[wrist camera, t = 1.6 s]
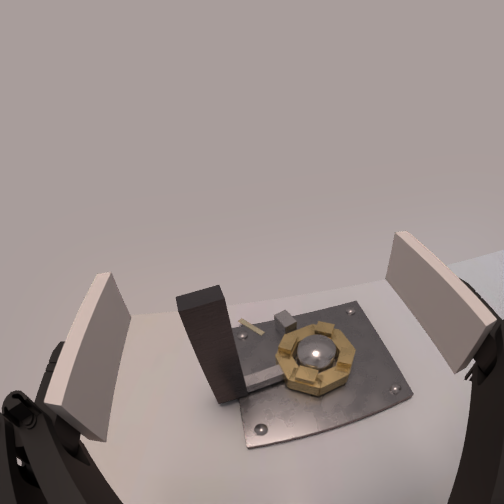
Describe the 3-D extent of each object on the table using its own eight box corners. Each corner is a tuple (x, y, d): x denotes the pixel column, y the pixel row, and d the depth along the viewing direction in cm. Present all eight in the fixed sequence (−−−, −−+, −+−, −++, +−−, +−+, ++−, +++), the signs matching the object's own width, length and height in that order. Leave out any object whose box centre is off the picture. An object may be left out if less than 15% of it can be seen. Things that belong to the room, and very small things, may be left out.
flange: (351, 298, 46) (354, 278, 43) (411, 397, 27) (423, 380, 25) (228, 325, 44) (223, 305, 42) (248, 449, 26) (243, 438, 23)
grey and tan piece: (328, 326, 40) (337, 227, 31) (364, 373, 31) (395, 271, 22) (207, 369, 35) (171, 272, 26) (227, 429, 27) (185, 347, 18)
